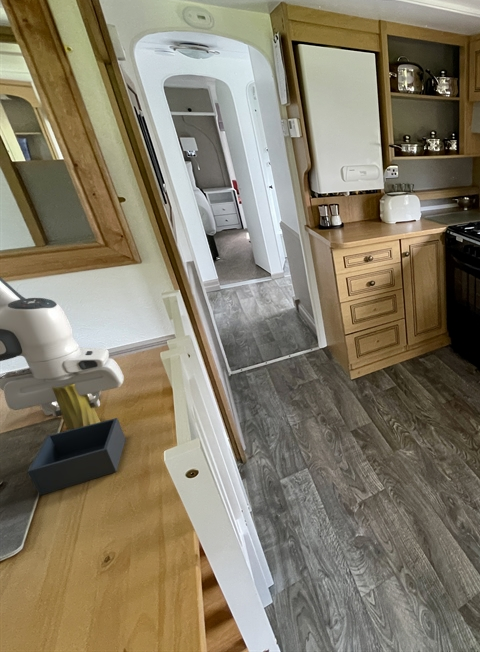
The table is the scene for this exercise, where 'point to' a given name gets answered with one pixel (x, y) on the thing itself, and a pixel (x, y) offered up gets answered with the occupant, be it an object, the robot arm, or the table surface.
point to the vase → (75, 407)
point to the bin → (77, 456)
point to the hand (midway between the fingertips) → (78, 410)
